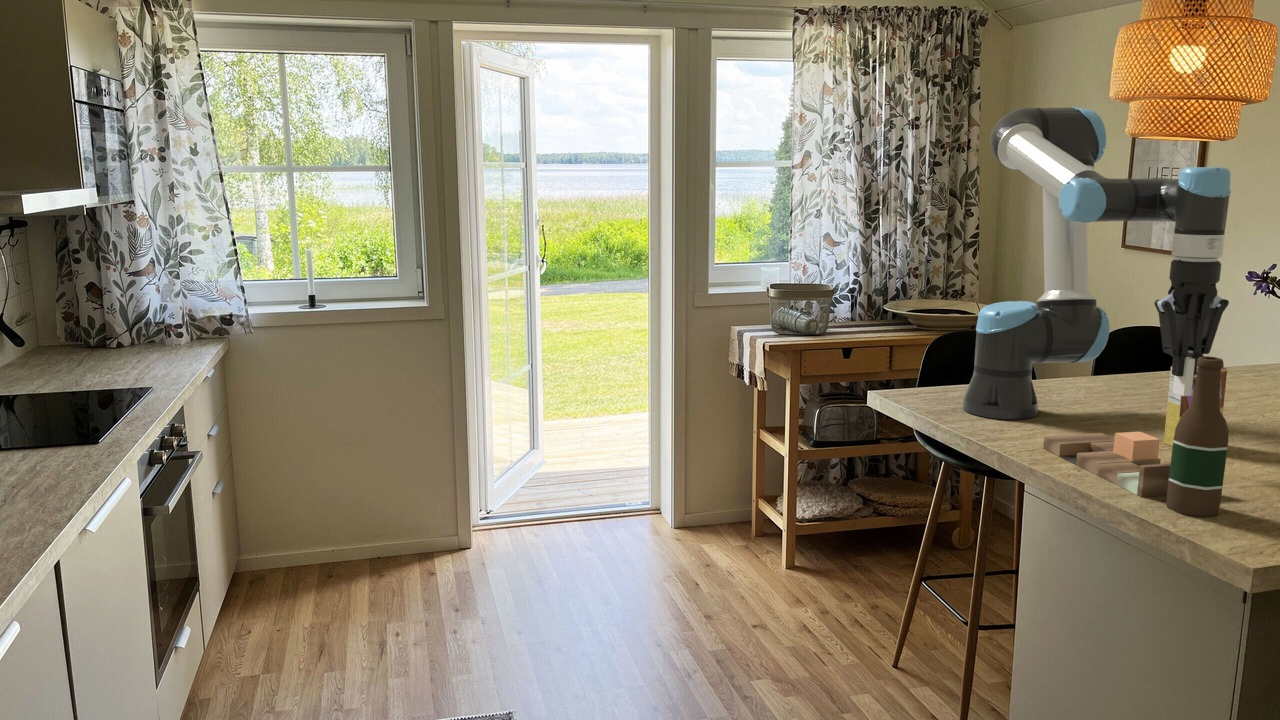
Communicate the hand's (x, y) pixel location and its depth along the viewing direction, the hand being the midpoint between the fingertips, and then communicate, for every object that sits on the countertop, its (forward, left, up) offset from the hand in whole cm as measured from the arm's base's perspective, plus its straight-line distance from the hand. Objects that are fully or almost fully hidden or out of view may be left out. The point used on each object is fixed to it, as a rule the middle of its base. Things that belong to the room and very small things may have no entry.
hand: (1181, 394), depth 170 cm
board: (0, -11, -13) cm, 17 cm away
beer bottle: (+20, -13, -13) cm, 27 cm away
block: (0, -8, -11) cm, 13 cm away
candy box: (-10, +12, -13) cm, 21 cm away
